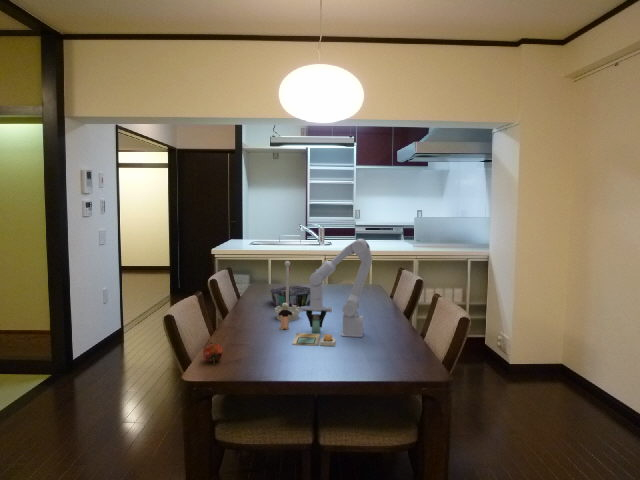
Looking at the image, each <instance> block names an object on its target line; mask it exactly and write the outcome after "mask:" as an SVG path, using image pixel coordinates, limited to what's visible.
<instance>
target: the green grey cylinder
mask: <svg viewBox="0 0 640 480" xmlns="http://www.w3.org/2000/svg"><path fill="white" fill-rule="evenodd" d="M320 323H321V313H312V327H311V332H312V334H321V327H320Z"/></svg>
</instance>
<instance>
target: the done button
mask: <svg viewBox="0 0 640 480" xmlns="http://www.w3.org/2000/svg"><path fill="white" fill-rule="evenodd" d="M332 336H333V335H332V334H330V333H329V334H327V333H326V334H324V335H323V338H324V341H330V342H331V341H332V338H333V337H332Z"/></svg>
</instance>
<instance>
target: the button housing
mask: <svg viewBox="0 0 640 480" xmlns="http://www.w3.org/2000/svg"><path fill="white" fill-rule="evenodd" d="M319 343H320V344H319V346H320V347H335V346H336V337H332V341H331V342H330V341H324V336H323V337H321V336H320V340H319Z"/></svg>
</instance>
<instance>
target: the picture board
mask: <svg viewBox="0 0 640 480" xmlns="http://www.w3.org/2000/svg"><path fill="white" fill-rule="evenodd" d="M321 336H322V335H321V333H303V332H302V333H298V332H297V333H296V334H295V336H294V338H293V341H292V343H291V344H292V346H317V347H319V345H320V344H319V343H320V341H321Z"/></svg>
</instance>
